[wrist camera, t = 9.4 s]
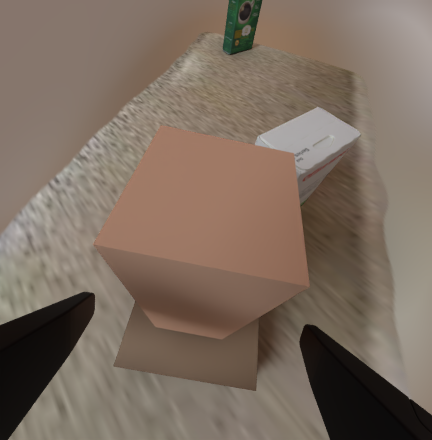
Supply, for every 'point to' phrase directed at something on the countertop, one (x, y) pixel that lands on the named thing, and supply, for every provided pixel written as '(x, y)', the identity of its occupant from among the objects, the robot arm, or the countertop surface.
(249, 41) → the coffee box
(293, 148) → the ink box
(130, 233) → the column
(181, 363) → the walnut block
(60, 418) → the countertop surface
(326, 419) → the robot arm
